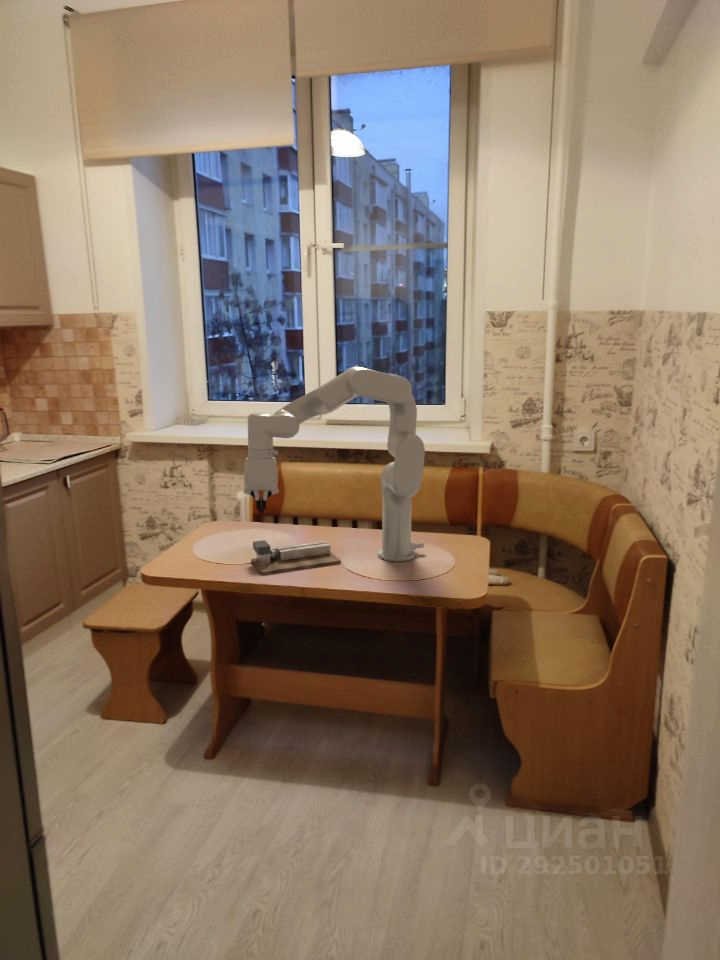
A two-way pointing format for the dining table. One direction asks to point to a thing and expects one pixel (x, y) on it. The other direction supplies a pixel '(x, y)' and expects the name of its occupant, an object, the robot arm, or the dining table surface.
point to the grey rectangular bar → (301, 552)
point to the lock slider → (261, 547)
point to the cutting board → (295, 563)
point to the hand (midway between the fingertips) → (261, 511)
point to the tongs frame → (265, 558)
